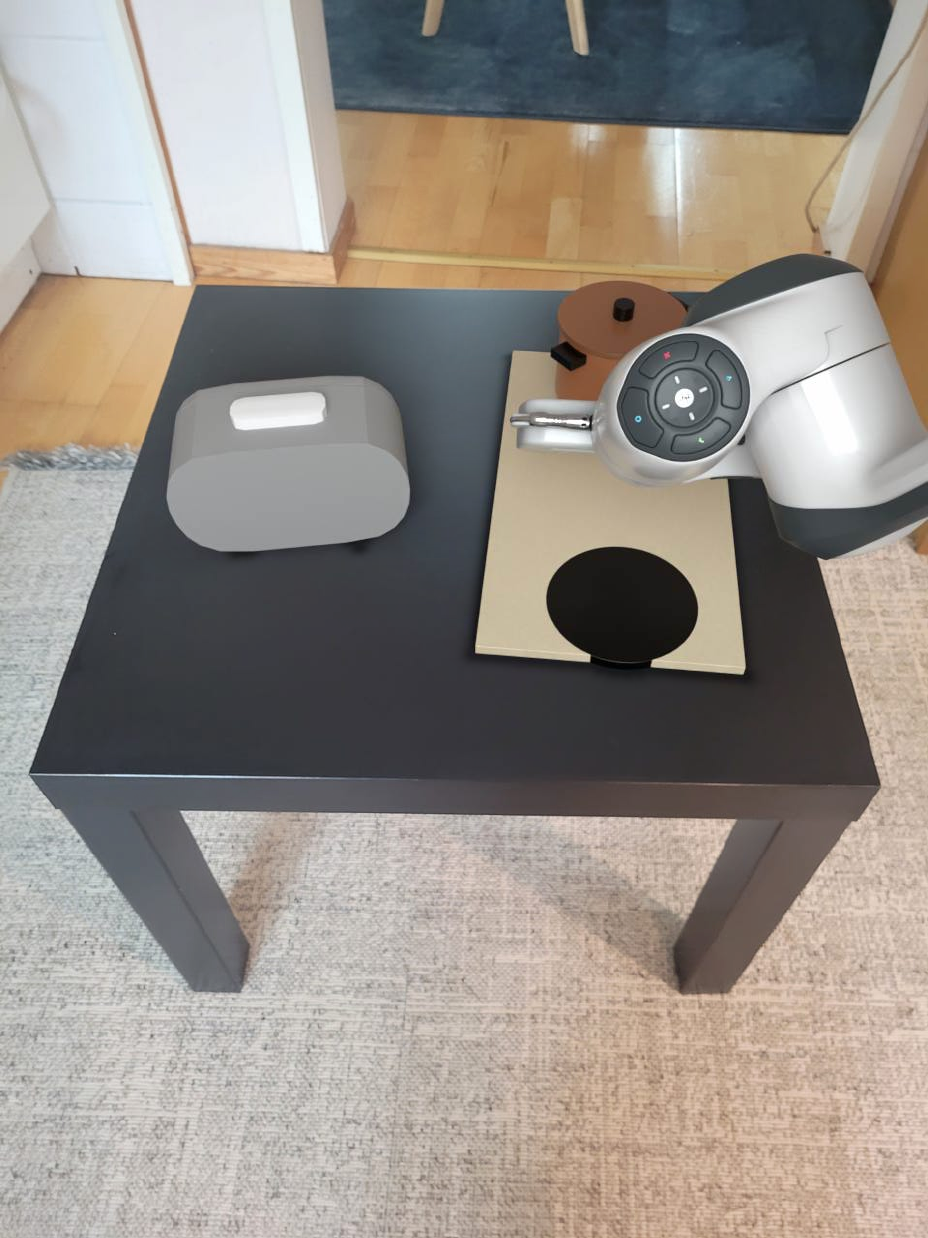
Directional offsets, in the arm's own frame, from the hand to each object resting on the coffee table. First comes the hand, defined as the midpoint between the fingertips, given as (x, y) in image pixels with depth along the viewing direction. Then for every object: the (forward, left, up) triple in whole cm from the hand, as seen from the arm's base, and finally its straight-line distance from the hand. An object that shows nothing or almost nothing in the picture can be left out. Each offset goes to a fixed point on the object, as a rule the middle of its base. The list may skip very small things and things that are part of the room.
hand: (636, 441), depth 81 cm
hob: (+1, -3, -9) cm, 10 cm away
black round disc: (0, +11, -9) cm, 15 cm away
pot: (+1, -17, -8) cm, 19 cm away
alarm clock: (+30, +3, -10) cm, 32 cm away
